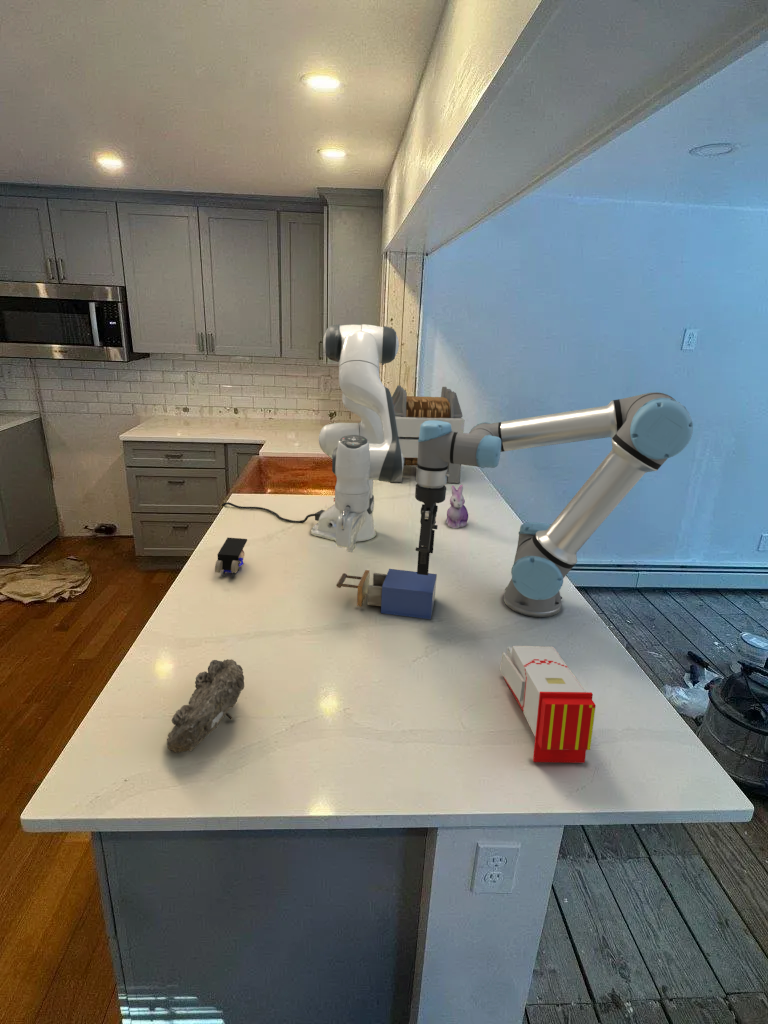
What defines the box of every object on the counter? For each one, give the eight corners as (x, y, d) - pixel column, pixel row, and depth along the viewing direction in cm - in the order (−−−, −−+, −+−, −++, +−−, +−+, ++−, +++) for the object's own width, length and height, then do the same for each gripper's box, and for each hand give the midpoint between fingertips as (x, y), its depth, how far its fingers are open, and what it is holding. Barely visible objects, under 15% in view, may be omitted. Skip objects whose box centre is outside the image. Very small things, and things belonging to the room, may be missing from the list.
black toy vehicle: (238, 584, 162) (249, 557, 175) (236, 562, 158) (247, 536, 172) (215, 584, 161) (227, 556, 175) (212, 561, 158) (225, 535, 171)
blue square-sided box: (380, 613, 148) (382, 586, 145) (387, 593, 158) (389, 568, 155) (430, 619, 146) (432, 592, 143) (434, 599, 156) (436, 574, 153)
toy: (549, 628, 125) (605, 700, 96) (544, 683, 128) (596, 770, 99) (495, 627, 125) (534, 699, 95) (491, 683, 128) (527, 769, 98)
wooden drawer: (334, 603, 150) (334, 582, 148) (343, 586, 159) (343, 567, 157) (401, 611, 147) (403, 591, 145) (407, 594, 156) (408, 574, 154)
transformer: (382, 463, 289) (386, 382, 275) (445, 464, 293) (451, 384, 279) (390, 482, 257) (394, 392, 243) (460, 483, 261) (468, 394, 247)
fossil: (192, 660, 117) (244, 628, 112) (224, 691, 120) (276, 661, 115) (142, 746, 98) (202, 712, 93) (182, 779, 101) (242, 748, 96)
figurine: (453, 530, 205) (457, 490, 200) (438, 521, 213) (441, 482, 208) (475, 527, 209) (479, 488, 204) (459, 517, 217) (462, 480, 212)
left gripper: (355, 514, 134) (354, 567, 139) (371, 489, 153) (370, 537, 158) (329, 512, 135) (329, 565, 140) (349, 487, 154) (348, 534, 159)
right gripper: (442, 501, 127) (435, 586, 134) (449, 472, 150) (443, 545, 158) (409, 498, 128) (404, 582, 136) (421, 469, 152) (416, 543, 159)
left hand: (350, 550), depth 149 cm, fingers closed
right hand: (425, 562), depth 147 cm, fingers open, 13 cm apart
